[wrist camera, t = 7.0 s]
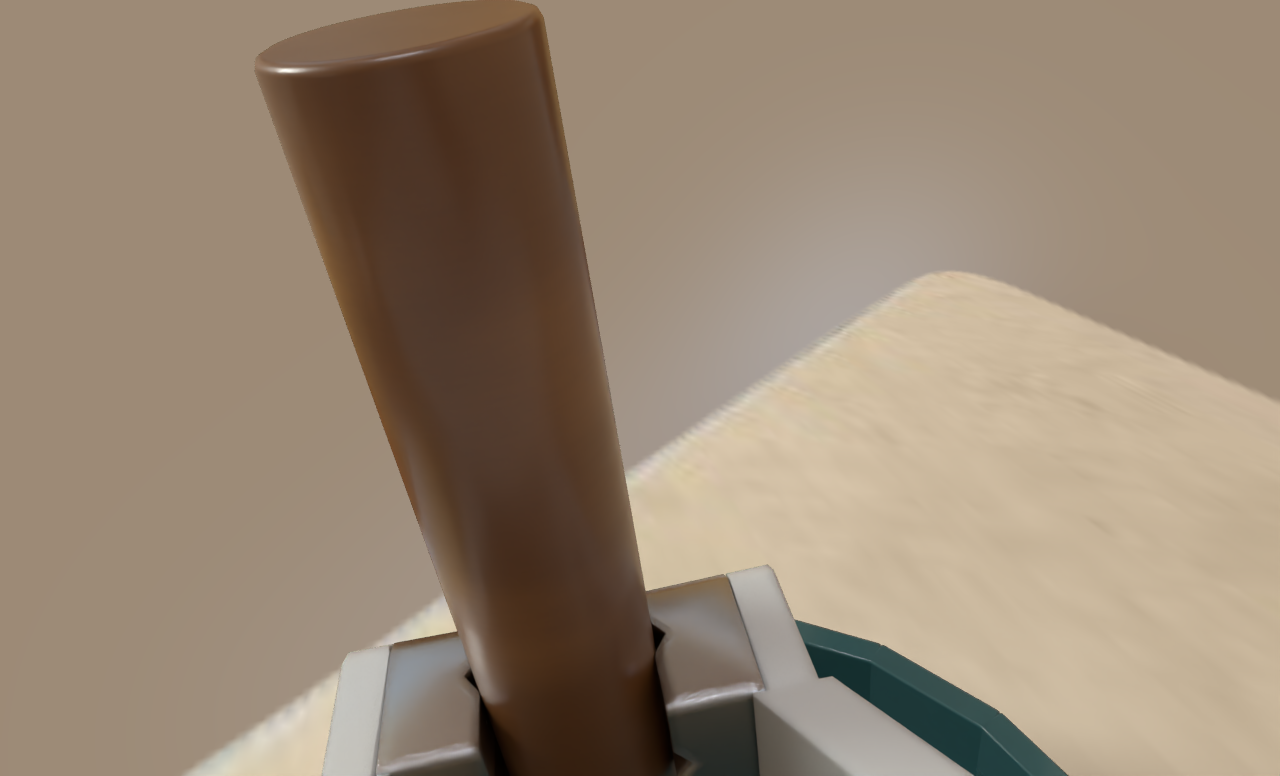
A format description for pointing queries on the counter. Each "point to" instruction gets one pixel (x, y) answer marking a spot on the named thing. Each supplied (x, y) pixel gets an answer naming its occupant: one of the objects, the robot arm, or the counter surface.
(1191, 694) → the counter surface
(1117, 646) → the counter surface
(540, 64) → the wooden dowel stand
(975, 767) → the bowl
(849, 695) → the robot arm
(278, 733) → the counter surface
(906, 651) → the counter surface
